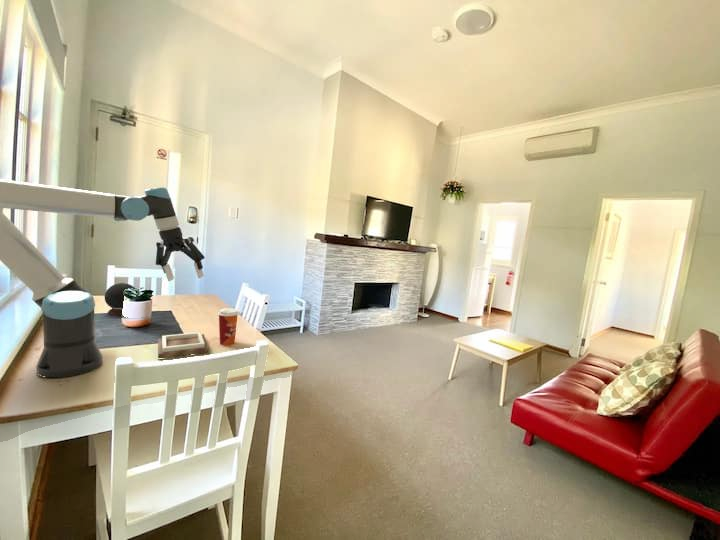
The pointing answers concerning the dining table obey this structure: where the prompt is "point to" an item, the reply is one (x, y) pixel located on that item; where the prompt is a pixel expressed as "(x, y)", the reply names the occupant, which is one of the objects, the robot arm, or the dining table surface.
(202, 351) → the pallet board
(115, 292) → the round bulbous part
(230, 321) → the paper cup
